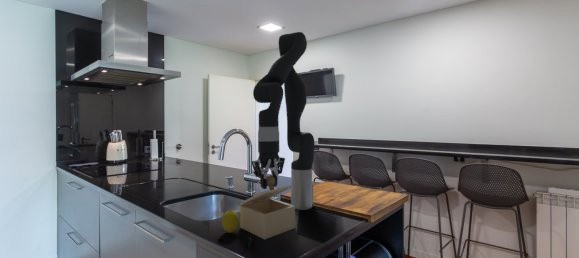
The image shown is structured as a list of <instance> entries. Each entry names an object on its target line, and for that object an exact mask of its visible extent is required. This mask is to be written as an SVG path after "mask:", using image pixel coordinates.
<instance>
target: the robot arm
mask: <svg viewBox="0 0 579 258" xmlns="http://www.w3.org/2000/svg"><path fill="white" fill-rule="evenodd" d="M307 47H308V42H307V37H306V35H305V34H304V32H303V31H294V32H287V33H282V34H281V35H280V36H279V38H278V51H279V58H277V59H276V60H275V61H274V62H273V63H272V65H271V67H270V68H269V71H268V72H267V73H266V74H265V75H264V76H263V77H262V78H261V79H260V80H258V81H257V83H256V84H255V86H254V88H253V92H252V97H253V99H254V100H255V102H256V103H260V104H268V105H269V106H268V107H267V108H265V109H262V110H260V111H259V113H258V129H257V130H258V131H257V149H258V150H257V152H258V154H259V155H258V158H257V159H256V160H252V161H251V165H252V169H253V172H254V174H255V175H254V176H255V177H257V178H259V180H260V188H261V189H263V190H267V189H268V186H267V178H266V176H267V175H268V172H269V170H270V175H272V176H273V177H274V178H275V183H274V185H273V186H274V188H276V187H277V186H278V184H279V182H278V179H279V178H278V177H279V175H282V173H283V170H284V166H285V161H286V158H285V157H280V156H279V155H280V154H279V153H280V129H279V115H280V110H281V105H282V101H283V98H284V99H285V108H286V126H287V127H286V141H287V147H288V149H289V151H291V152H293V153H298V158H297V159H296V160H293V161H292V162H291V164H290V180H291V181H290V186H292V188H290V205H293V206H295V210H298V211H306V210H307V211H308V210H309V209H312V208H313V206H312V204H313V205H314V184H313V163H314V161H315V146H316V145H315V137H314V135H313V134H312V133H311V132H308V131H306V132H305V131H301V117H302V115H303V113H304V110H305V108H306V105H307V101H308V100H307V87H306V84H305V82H304V81H303V79H302V78H301V76H300V75H299V74H298V72H297V71H296V69H295V67H294V66H295V65H296V64H297V62H299V60H300V59H301V58H302V56H303V55H304V53H305V52H306V51H307ZM283 88H284V89H283Z"/></svg>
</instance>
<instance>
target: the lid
mask: <svg viewBox="0 0 579 258" xmlns="http://www.w3.org/2000/svg"><path fill="white" fill-rule="evenodd" d="M266 178H267V187H268V188H269V190H267V191H262V192H259V193H257V194H255V195H253V196H251V197H249V198H246V199H245V200H243V201H241V202H239V206H241V205H245V204H249V203H253V202H256V201H260V200H264V199H268V198H271V199H272V198H273V197H274V196H277V195H279V194H282V193H283V192H285V191H288V190H291V188H292V186H291V185H288V186H283V187H278V188H275V187H274V186H273V185H274V183H275V178H274V177H273V176H272V174H267V176H266Z"/></svg>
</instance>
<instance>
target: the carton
mask: <svg viewBox="0 0 579 258" xmlns="http://www.w3.org/2000/svg"><path fill="white" fill-rule="evenodd" d="M239 222H240V223H239V226H240V227H239V228H241V229H242V230H243V231H247V232H249V233H251V234H252V235H255V236H257V237H258V238H261V239H262V240H267V239H271V238H273V237H274V236H275V237H276V236H278V235H280V234H282V233H285V232H288V231H291V230H293V229H295V228H296V209H295V206H293V205H291V203H290V204H289V203H286V202H285V201H284V202H283V201H280V200H277V199H275V198H272V197H271V198H267V199H263V200H259V201H255V202H251V203H248V204H244V205H239Z"/></svg>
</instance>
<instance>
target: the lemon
mask: <svg viewBox="0 0 579 258" xmlns="http://www.w3.org/2000/svg"><path fill="white" fill-rule="evenodd" d="M239 222H240V219H239V216H238V213H236V211H234V210H232V209H229V210H228V211H226V212H225V213H224V214H223V216H222V219H221V225H222V228H223V229H224V231H226V232H228V233H229V234H231V233H233V232H234V231H235V230H236V229H237V228H238V226H239Z"/></svg>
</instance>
